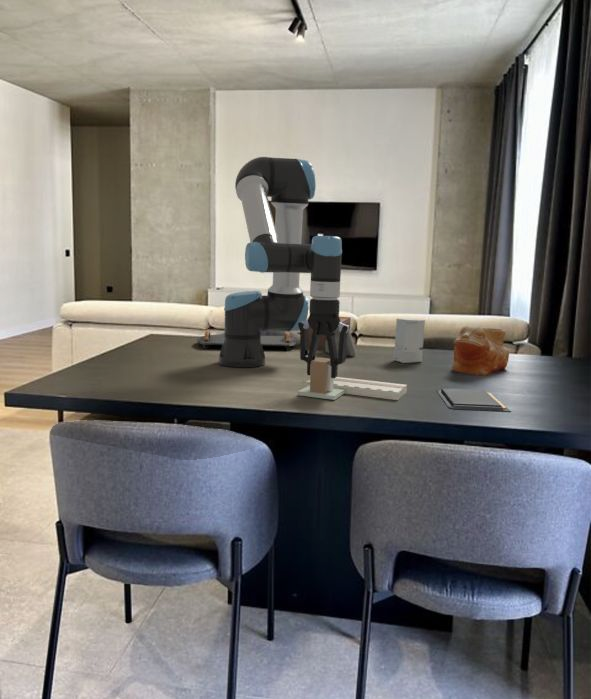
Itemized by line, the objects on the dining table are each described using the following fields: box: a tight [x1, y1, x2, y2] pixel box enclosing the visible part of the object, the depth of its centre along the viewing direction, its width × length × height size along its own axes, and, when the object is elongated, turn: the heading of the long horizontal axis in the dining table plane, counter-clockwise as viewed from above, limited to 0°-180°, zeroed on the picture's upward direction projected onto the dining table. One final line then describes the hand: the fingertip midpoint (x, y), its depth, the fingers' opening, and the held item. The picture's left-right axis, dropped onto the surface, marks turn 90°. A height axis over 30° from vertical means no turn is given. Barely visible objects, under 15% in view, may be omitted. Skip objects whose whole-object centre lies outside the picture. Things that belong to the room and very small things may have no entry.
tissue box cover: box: [306, 316, 352, 349], centre depth 240 cm, size 26×14×10 cm, turn 164°
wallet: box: [436, 388, 512, 413], centre depth 150 cm, size 20×2×15 cm
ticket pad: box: [305, 376, 408, 401], centre depth 158 cm, size 25×10×2 cm, turn 67°
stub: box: [297, 357, 345, 401], centre depth 151 cm, size 10×8×9 cm
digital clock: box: [324, 326, 357, 357], centre depth 215 cm, size 16×9×11 cm, turn 11°
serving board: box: [196, 329, 298, 351], centre depth 228 cm, size 39×23×6 cm, turn 94°
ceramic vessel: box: [451, 325, 510, 376], centre depth 191 cm, size 14×26×15 cm, turn 137°
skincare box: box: [393, 317, 426, 364], centre depth 203 cm, size 8×6×15 cm
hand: (321, 388), depth 152 cm, fingers closed on stub, 4 cm apart
